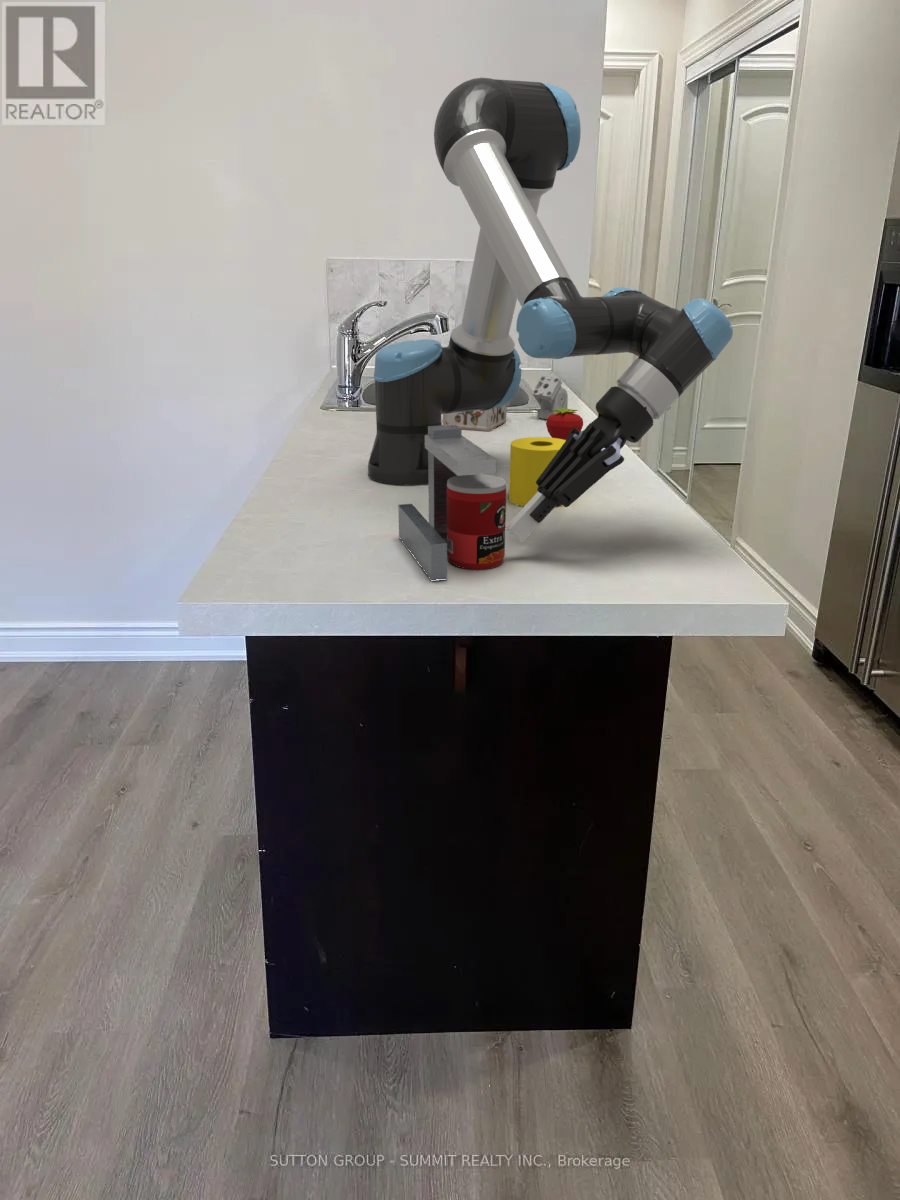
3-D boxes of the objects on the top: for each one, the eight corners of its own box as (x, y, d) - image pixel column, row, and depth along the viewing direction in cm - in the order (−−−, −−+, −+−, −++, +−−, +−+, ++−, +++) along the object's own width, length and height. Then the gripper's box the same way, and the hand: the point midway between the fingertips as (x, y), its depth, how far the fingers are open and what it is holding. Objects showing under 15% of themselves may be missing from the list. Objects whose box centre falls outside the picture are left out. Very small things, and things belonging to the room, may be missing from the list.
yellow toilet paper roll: (563, 510, 145) (566, 452, 141) (502, 505, 147) (504, 448, 144) (574, 494, 153) (577, 439, 150) (516, 489, 156) (518, 435, 153)
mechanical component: (567, 418, 216) (569, 375, 212) (548, 423, 211) (550, 379, 207) (549, 415, 219) (551, 373, 215) (530, 420, 214) (531, 377, 210)
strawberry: (582, 453, 182) (585, 403, 178) (544, 452, 182) (546, 402, 179) (581, 447, 187) (584, 398, 183) (544, 446, 188) (546, 397, 184)
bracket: (462, 529, 135) (462, 422, 129) (506, 574, 117) (509, 452, 111) (396, 534, 133) (394, 425, 127) (431, 581, 115) (430, 457, 109)
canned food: (486, 574, 117) (487, 491, 113) (435, 562, 122) (434, 482, 117) (515, 557, 123) (517, 479, 119) (466, 547, 127) (466, 470, 123)
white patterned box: (441, 428, 205) (441, 346, 199) (460, 419, 215) (461, 340, 208) (490, 432, 201) (492, 348, 194) (508, 422, 211) (510, 343, 204)
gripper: (675, 431, 116) (549, 567, 118) (629, 413, 127) (515, 537, 129) (641, 391, 112) (512, 532, 114) (596, 376, 124) (480, 504, 126)
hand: (513, 534), depth 122 cm, fingers closed
